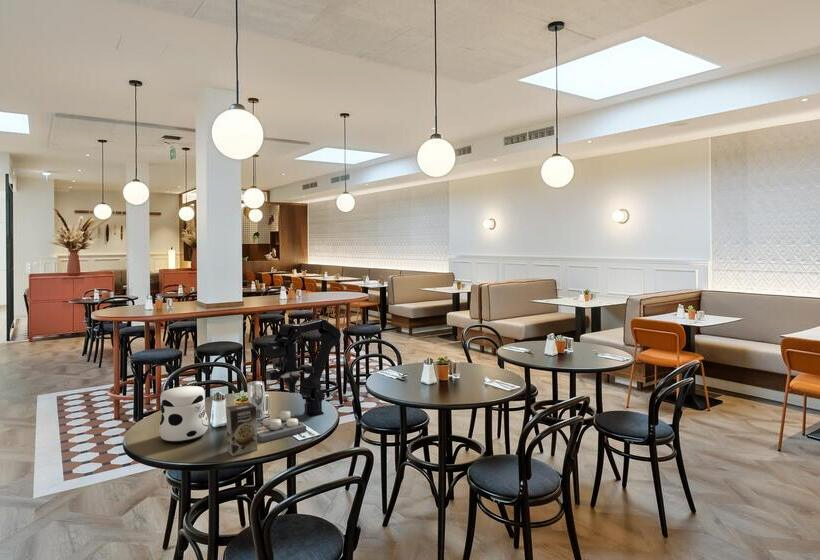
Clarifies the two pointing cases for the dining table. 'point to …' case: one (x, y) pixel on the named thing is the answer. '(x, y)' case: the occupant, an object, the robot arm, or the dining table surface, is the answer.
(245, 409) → the coffee box
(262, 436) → the puzzle board
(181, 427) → the milk container
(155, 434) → the dining table surface
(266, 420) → the button
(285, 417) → the button
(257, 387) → the beer glass
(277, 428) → the button
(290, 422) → the button
